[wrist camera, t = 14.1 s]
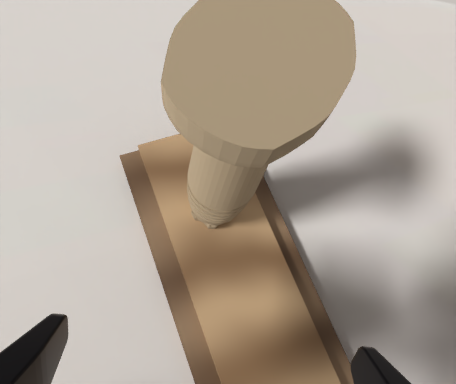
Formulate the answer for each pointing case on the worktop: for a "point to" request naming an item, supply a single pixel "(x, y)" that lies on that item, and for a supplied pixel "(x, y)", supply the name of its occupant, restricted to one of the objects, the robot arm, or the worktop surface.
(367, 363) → the robot arm
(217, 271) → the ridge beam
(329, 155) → the worktop surface
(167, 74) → the handle
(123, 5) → the worktop surface
